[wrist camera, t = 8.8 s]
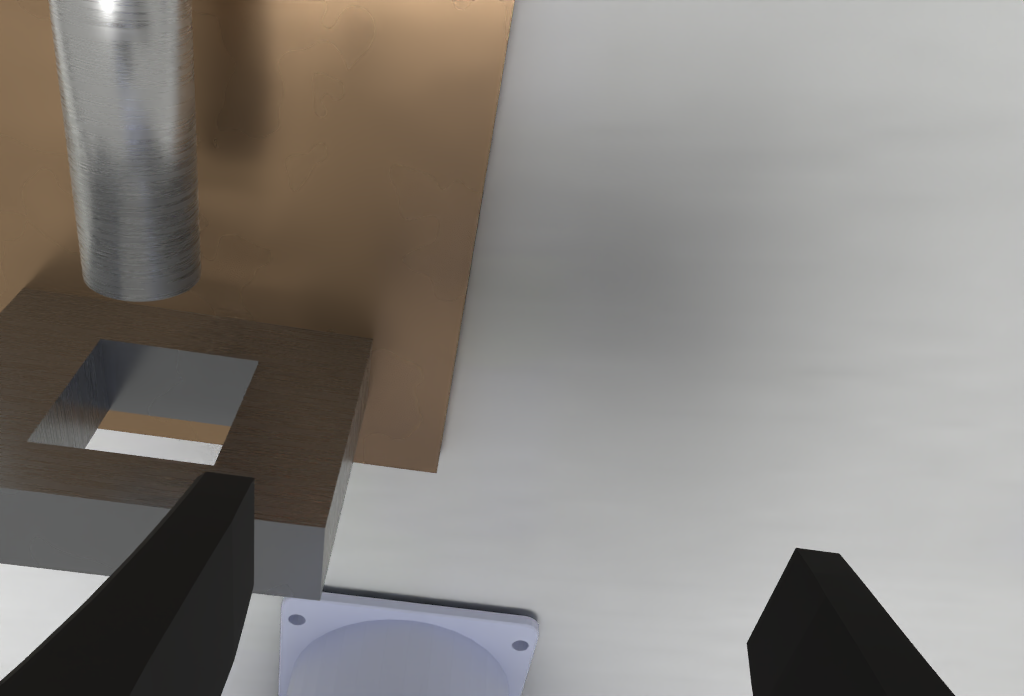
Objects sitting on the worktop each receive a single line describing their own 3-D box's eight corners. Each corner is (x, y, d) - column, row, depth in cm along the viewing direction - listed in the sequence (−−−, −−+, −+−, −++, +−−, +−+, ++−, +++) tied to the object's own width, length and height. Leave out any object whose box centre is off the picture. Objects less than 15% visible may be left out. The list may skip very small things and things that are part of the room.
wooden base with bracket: (439, 453, 24) (412, 675, 18) (-20, 391, 22) (-203, 606, 17) (579, -404, 14) (623, -522, 8) (-236, -589, 12) (-875, -883, 7)
